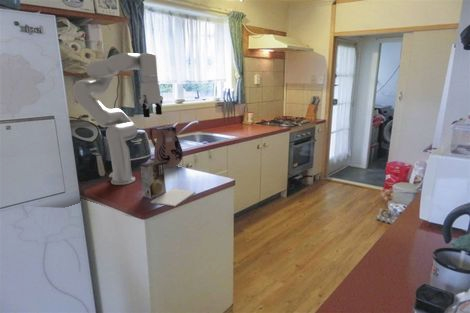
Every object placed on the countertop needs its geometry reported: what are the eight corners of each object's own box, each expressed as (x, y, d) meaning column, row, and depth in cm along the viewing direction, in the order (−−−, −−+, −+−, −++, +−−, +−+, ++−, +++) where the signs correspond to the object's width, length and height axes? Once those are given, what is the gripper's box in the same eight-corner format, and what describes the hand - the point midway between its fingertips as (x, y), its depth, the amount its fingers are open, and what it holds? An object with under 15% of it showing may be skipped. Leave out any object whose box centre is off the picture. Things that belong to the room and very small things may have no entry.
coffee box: (158, 190, 162) (155, 159, 158) (166, 193, 158) (163, 161, 154) (142, 196, 155) (139, 163, 151) (151, 199, 151) (147, 166, 147)
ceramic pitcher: (178, 170, 196) (175, 129, 190) (145, 169, 199) (141, 129, 193) (187, 162, 213) (184, 124, 206) (156, 161, 216) (153, 124, 210)
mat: (150, 202, 147) (150, 201, 147) (173, 189, 163) (172, 188, 163) (175, 206, 142) (174, 205, 142) (195, 192, 158) (195, 191, 158)
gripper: (154, 79, 164) (157, 113, 168) (131, 80, 149) (135, 118, 153) (166, 79, 161) (169, 113, 166) (144, 80, 146) (148, 118, 150)
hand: (153, 115), depth 159 cm, fingers open, 9 cm apart
